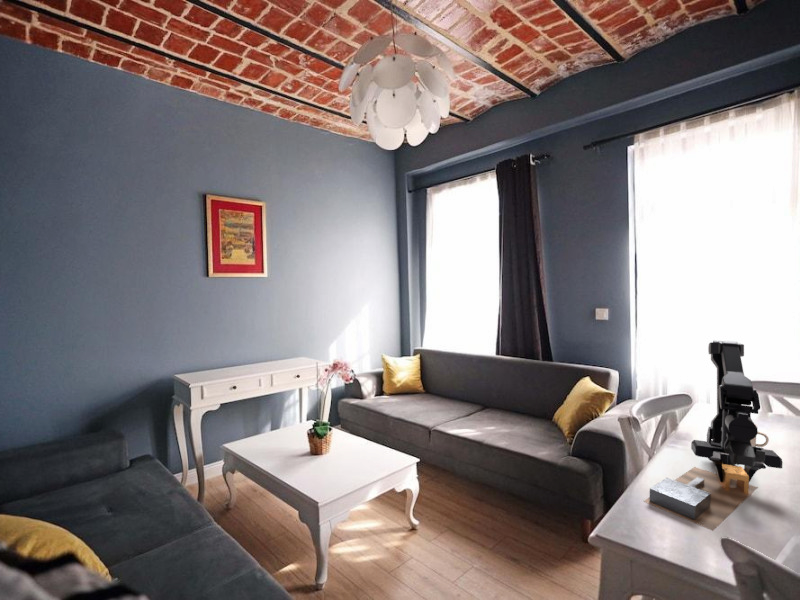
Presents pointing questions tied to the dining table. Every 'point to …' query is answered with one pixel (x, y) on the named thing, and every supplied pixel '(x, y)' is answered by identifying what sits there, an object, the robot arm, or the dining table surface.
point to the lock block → (735, 477)
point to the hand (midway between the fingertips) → (733, 483)
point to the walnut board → (713, 497)
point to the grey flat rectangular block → (681, 497)
